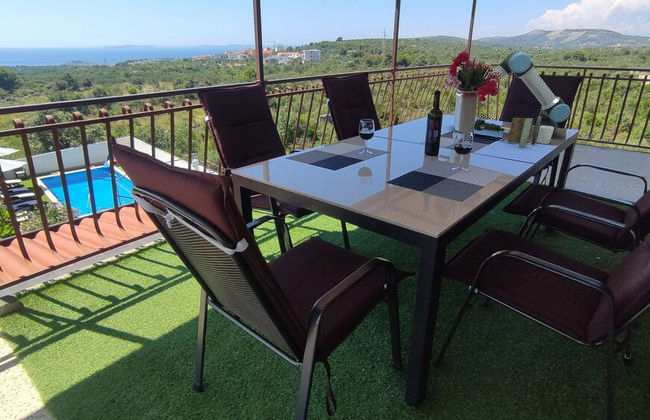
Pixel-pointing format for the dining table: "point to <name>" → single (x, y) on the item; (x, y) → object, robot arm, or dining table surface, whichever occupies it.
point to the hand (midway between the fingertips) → (509, 130)
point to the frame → (526, 132)
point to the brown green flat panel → (518, 130)
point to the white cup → (545, 134)
